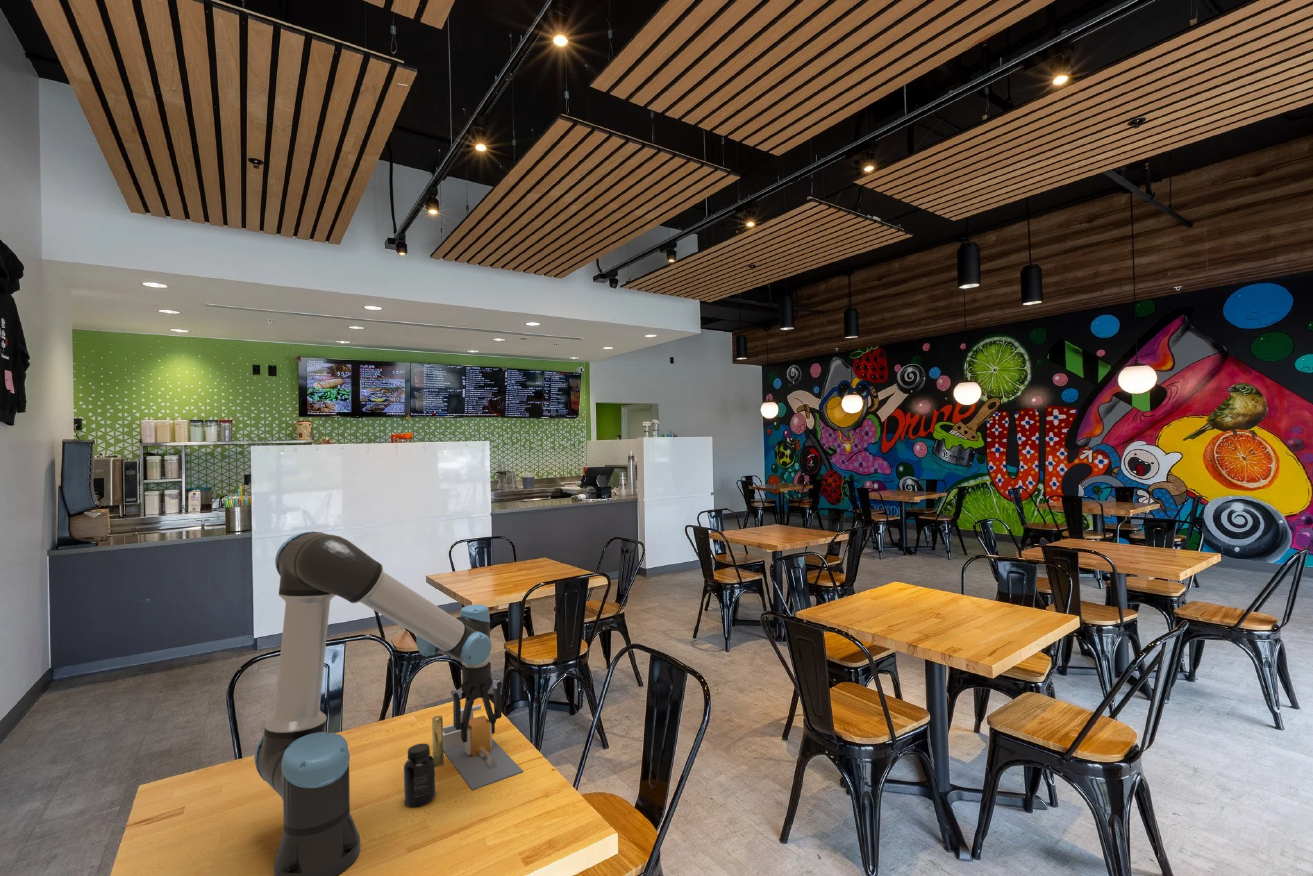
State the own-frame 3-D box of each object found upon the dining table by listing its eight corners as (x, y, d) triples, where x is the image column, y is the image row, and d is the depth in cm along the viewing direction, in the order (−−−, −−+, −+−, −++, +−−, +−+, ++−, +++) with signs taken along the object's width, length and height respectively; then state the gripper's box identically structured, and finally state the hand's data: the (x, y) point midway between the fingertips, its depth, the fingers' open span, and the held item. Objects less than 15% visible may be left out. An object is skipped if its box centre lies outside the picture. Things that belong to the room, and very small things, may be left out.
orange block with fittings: (502, 764, 155) (501, 733, 156) (483, 770, 153) (482, 739, 153) (484, 744, 167) (483, 715, 167) (466, 750, 164) (465, 720, 164)
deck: (523, 772, 152) (522, 739, 152) (472, 790, 145) (471, 755, 145) (483, 729, 177) (482, 701, 177) (437, 743, 169) (436, 713, 169)
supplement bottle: (440, 791, 145) (439, 741, 145) (427, 808, 138) (425, 755, 138) (413, 790, 145) (412, 740, 145) (398, 807, 138) (397, 755, 139)
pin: (444, 764, 157) (443, 718, 157) (434, 767, 156) (433, 721, 156) (442, 760, 159) (440, 714, 160) (432, 763, 158) (430, 717, 158)
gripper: (503, 652, 172) (505, 734, 171) (438, 667, 162) (440, 754, 161) (513, 659, 166) (515, 744, 165) (446, 675, 155) (448, 766, 155)
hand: (478, 749), depth 163 cm, fingers closed on orange block with fittings, 5 cm apart
